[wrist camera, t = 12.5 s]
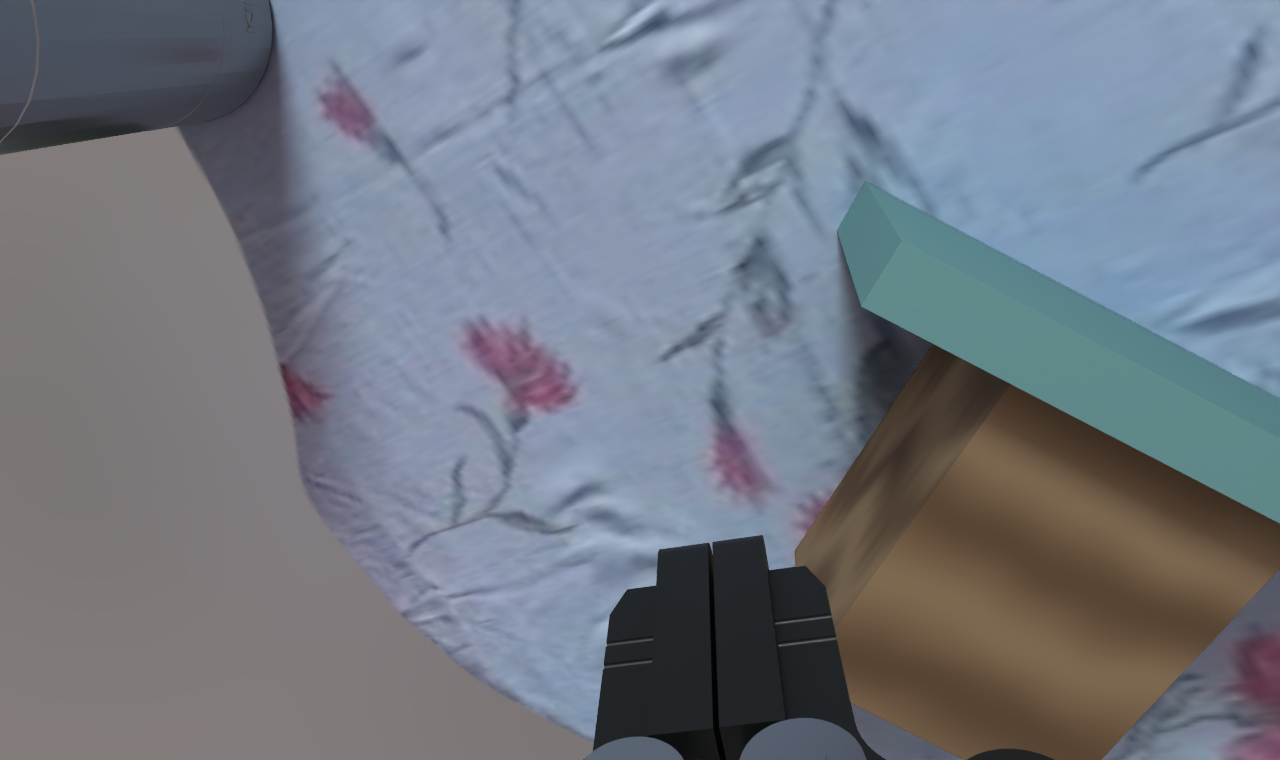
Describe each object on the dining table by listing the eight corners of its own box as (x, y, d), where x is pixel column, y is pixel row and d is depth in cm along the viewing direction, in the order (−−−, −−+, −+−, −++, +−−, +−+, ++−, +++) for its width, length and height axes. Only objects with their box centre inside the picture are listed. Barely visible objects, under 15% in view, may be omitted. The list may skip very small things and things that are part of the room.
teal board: (1305, 475, 42) (1498, 636, 31) (837, 230, 41) (861, 306, 30) (1343, 432, 41) (1556, 583, 30) (865, 181, 40) (902, 241, 29)
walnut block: (1002, 654, 48) (1057, 806, 38) (794, 549, 47) (799, 677, 38) (1196, 418, 42) (1316, 529, 33) (963, 296, 41) (1018, 373, 32)
